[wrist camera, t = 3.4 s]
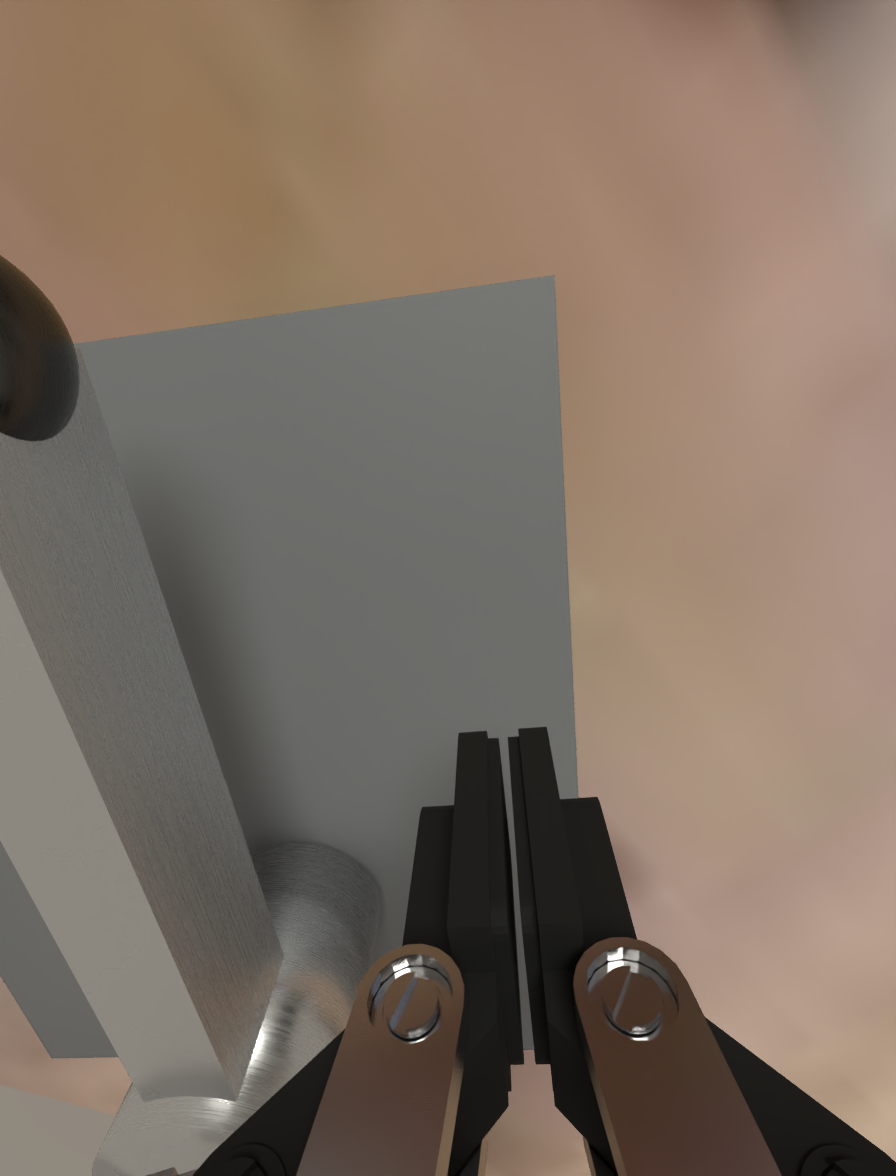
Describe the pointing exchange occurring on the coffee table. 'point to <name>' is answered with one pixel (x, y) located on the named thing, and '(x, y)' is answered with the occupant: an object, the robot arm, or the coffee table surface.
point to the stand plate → (343, 575)
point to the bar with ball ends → (143, 793)
